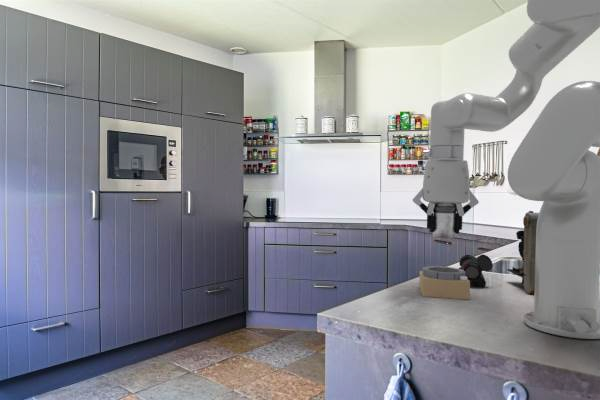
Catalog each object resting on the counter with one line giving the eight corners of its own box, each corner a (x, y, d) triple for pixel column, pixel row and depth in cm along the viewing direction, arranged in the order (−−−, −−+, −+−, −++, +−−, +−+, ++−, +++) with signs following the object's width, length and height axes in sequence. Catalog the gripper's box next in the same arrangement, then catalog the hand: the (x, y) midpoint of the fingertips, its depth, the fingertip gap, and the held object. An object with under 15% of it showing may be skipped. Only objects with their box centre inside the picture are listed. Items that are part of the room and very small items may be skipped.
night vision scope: (467, 284, 121) (497, 264, 118) (469, 299, 104) (504, 276, 101) (449, 262, 122) (478, 242, 120) (448, 273, 106) (482, 250, 103)
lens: (457, 238, 95) (458, 203, 95) (433, 237, 96) (434, 202, 96) (453, 236, 100) (454, 203, 100) (431, 235, 101) (432, 202, 101)
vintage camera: (541, 285, 112) (540, 211, 113) (572, 296, 97) (571, 211, 98) (503, 284, 113) (503, 211, 114) (529, 295, 98) (528, 210, 99)
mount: (469, 299, 92) (470, 274, 92) (422, 296, 94) (423, 272, 94) (461, 289, 102) (462, 267, 102) (419, 287, 104) (419, 265, 104)
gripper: (409, 153, 96) (407, 232, 96) (489, 153, 93) (486, 235, 93) (408, 156, 103) (405, 229, 104) (481, 156, 100) (478, 232, 100)
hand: (443, 231), depth 98 cm, fingers closed on lens, 5 cm apart
